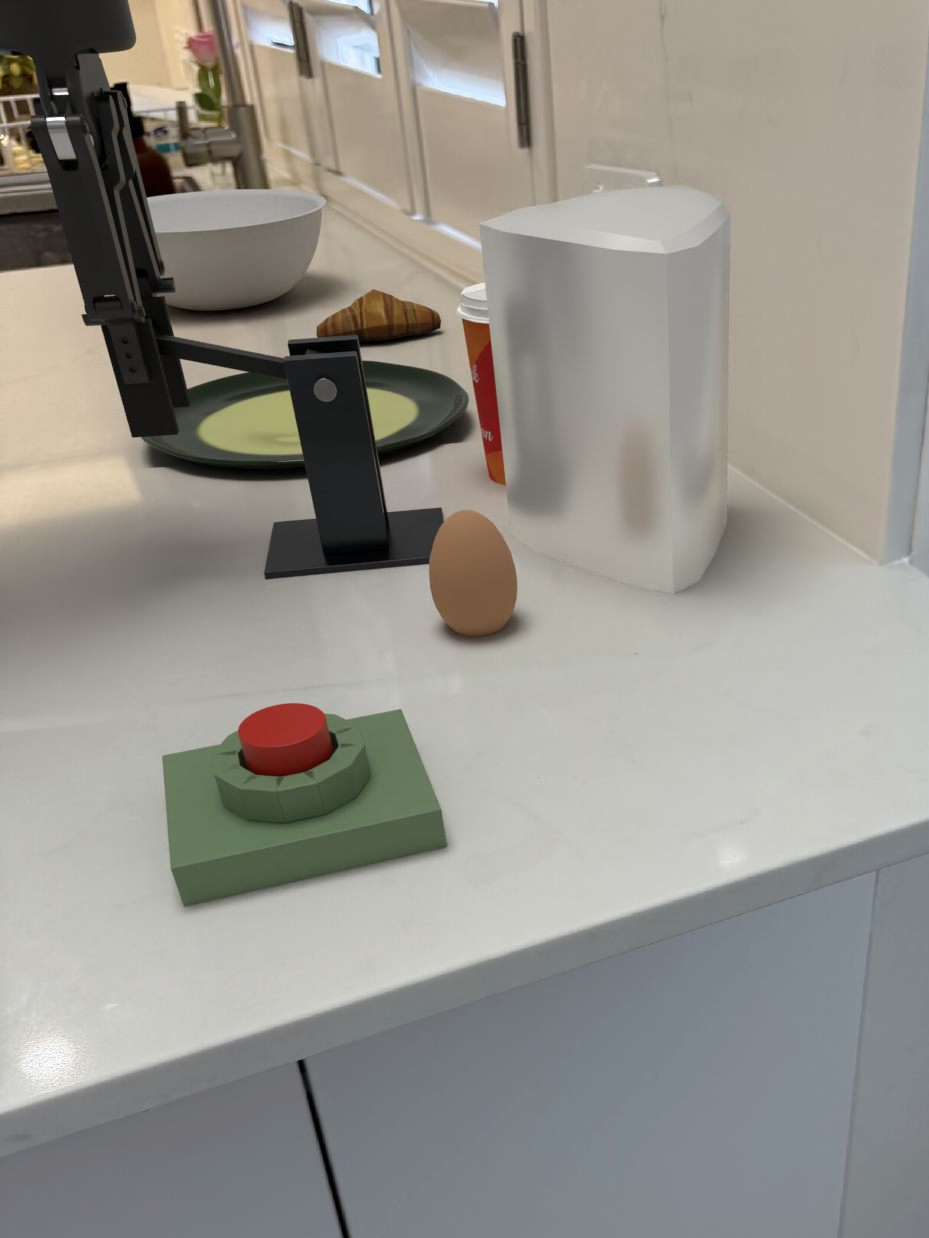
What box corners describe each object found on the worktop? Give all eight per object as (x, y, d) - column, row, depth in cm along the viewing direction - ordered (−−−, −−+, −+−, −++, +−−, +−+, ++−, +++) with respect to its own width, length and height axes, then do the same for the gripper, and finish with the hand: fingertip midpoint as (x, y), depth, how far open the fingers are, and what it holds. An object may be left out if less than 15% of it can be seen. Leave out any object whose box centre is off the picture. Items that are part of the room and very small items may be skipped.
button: (250, 787, 55) (241, 754, 54) (242, 744, 58) (233, 712, 57) (338, 768, 56) (331, 736, 55) (326, 727, 59) (319, 696, 58)
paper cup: (510, 461, 99) (491, 274, 90) (592, 473, 96) (581, 282, 87) (457, 493, 93) (431, 297, 85) (542, 507, 91) (525, 306, 82)
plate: (213, 387, 117) (206, 360, 116) (496, 385, 116) (493, 358, 114) (89, 491, 96) (79, 460, 94) (436, 491, 94) (432, 459, 92)
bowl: (95, 340, 133) (65, 239, 127) (122, 286, 154) (97, 197, 148) (346, 320, 137) (329, 221, 131) (339, 270, 158) (324, 183, 152)
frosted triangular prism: (503, 550, 84) (464, 193, 71) (640, 492, 93) (629, 162, 79) (664, 610, 76) (655, 220, 63) (798, 541, 85) (816, 182, 71)
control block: (183, 907, 54) (158, 835, 51) (173, 791, 61) (151, 723, 59) (447, 847, 57) (435, 776, 54) (407, 744, 64) (395, 677, 62)
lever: (121, 369, 72) (120, 327, 71) (134, 347, 76) (134, 307, 75) (347, 411, 76) (350, 372, 75) (348, 389, 80) (352, 351, 79)
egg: (503, 611, 77) (489, 488, 72) (536, 643, 73) (523, 516, 68) (426, 630, 75) (406, 505, 70) (456, 664, 71) (437, 535, 66)
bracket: (268, 591, 80) (215, 373, 72) (277, 539, 87) (230, 335, 79) (449, 573, 82) (419, 359, 73) (444, 523, 89) (416, 322, 80)
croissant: (434, 324, 135) (428, 275, 132) (449, 338, 130) (443, 288, 127) (313, 339, 131) (303, 289, 128) (323, 354, 126) (314, 302, 123)
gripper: (83, -40, 56) (207, 463, 70) (144, -44, 70) (236, 376, 84) (-89, -37, 55) (72, 472, 69) (7, -41, 69) (124, 383, 83)
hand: (162, 418), depth 77 cm, fingers closed on lever, 5 cm apart
